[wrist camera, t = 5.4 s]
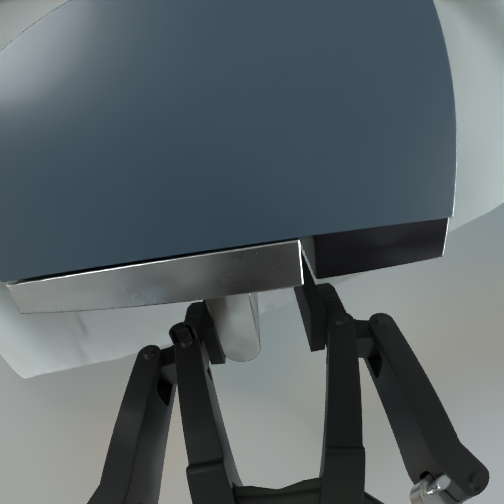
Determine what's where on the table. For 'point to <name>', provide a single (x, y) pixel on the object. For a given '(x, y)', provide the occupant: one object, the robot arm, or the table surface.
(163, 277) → the microwave door
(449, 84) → the microwave
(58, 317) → the table surface
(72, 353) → the table surface
